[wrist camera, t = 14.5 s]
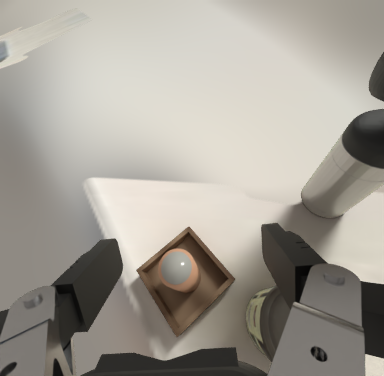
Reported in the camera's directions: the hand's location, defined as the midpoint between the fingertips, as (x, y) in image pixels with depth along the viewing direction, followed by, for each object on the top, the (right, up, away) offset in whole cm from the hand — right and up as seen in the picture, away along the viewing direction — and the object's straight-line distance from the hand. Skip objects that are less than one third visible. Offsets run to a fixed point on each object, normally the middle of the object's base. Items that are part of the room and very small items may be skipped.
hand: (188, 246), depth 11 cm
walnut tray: (-1, -14, +28) cm, 31 cm away
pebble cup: (-1, -14, +27) cm, 30 cm away
